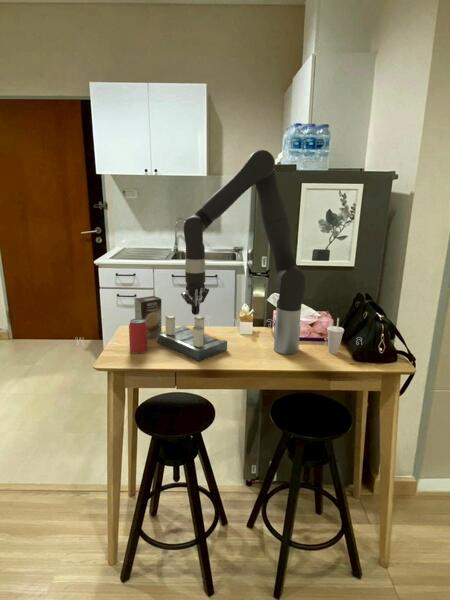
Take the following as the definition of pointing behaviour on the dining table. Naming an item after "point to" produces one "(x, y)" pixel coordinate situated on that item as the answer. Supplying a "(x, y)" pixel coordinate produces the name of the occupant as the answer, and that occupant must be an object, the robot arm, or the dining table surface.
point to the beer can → (138, 335)
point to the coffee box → (149, 314)
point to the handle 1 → (170, 325)
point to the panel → (184, 344)
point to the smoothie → (334, 338)
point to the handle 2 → (198, 336)
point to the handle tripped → (199, 321)
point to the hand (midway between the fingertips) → (195, 314)
